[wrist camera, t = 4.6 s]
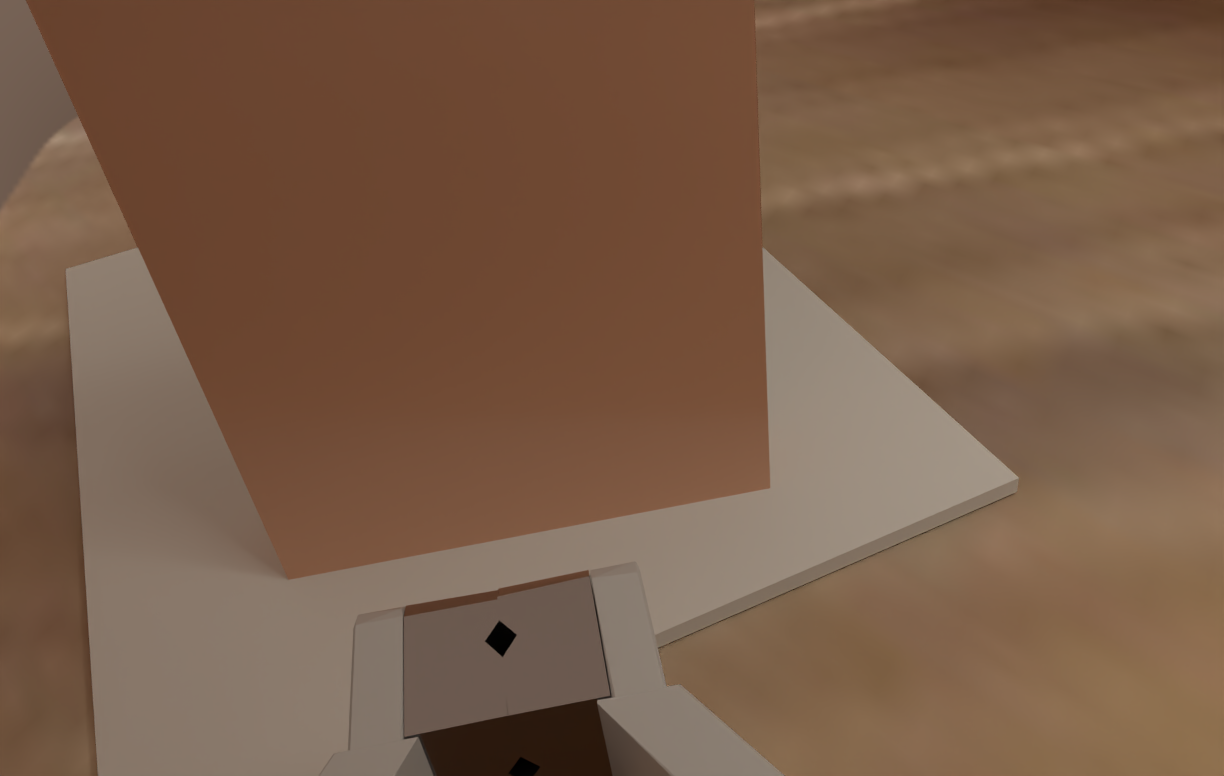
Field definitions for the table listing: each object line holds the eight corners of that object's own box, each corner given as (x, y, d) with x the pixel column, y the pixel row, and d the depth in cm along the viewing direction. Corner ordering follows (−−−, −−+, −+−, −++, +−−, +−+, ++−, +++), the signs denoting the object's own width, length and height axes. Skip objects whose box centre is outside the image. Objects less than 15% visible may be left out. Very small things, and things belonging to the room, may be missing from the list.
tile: (297, 501, 24) (0, -211, 15) (743, 417, 24) (705, -321, 16) (288, 579, 22) (-53, -175, 13) (770, 488, 23) (744, -300, 14)
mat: (609, 118, 38) (607, 107, 38) (1016, 492, 22) (1019, 477, 22) (71, 279, 33) (65, 268, 33) (113, 884, 18) (103, 872, 18)
